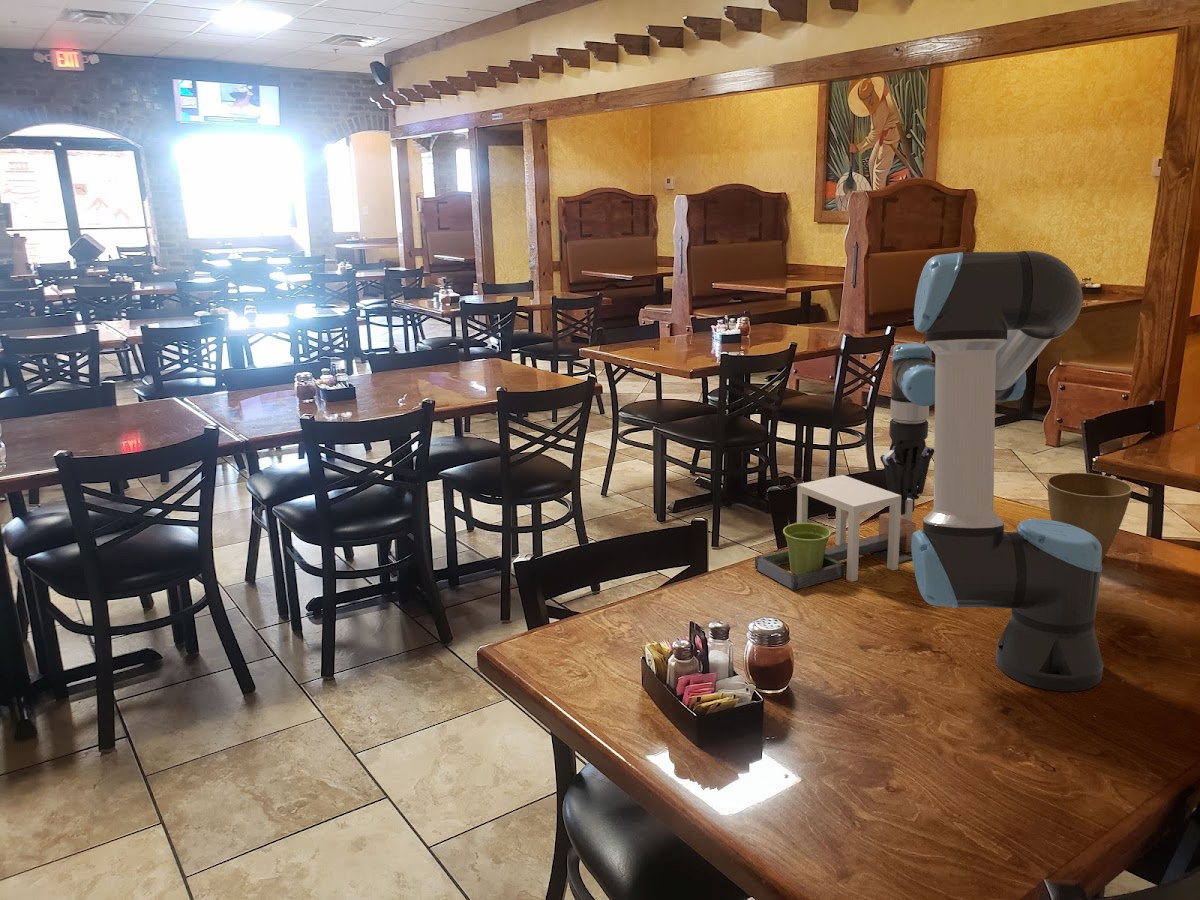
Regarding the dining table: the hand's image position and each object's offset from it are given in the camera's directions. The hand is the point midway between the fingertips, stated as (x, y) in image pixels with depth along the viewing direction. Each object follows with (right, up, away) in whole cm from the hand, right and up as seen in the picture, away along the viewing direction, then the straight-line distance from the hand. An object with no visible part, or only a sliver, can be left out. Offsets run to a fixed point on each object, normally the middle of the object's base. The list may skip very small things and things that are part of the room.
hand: (904, 527), depth 194 cm
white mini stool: (-11, -6, -4) cm, 13 cm away
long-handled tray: (-15, -7, -6) cm, 18 cm away
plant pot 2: (+33, -6, -9) cm, 34 cm away
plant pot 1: (-23, -8, -9) cm, 26 cm away
